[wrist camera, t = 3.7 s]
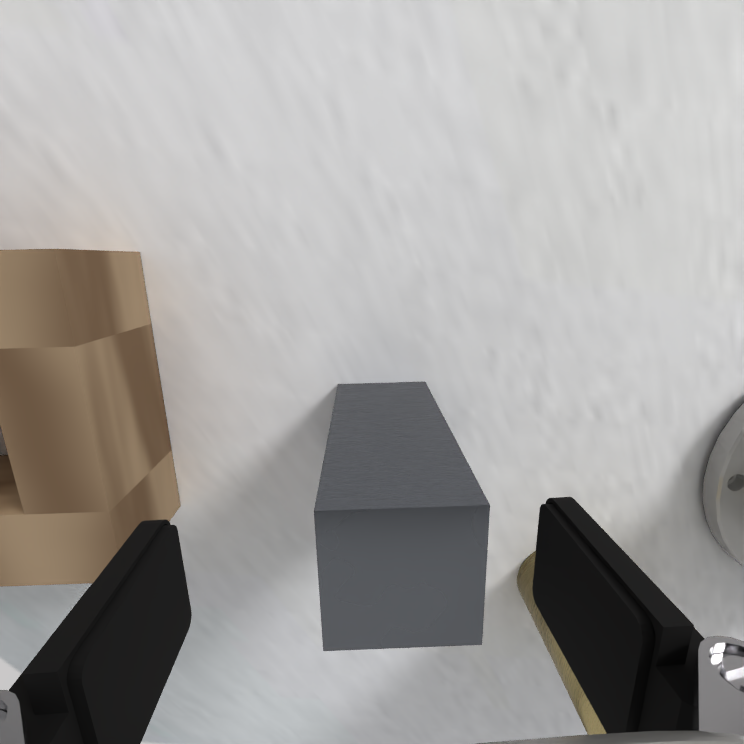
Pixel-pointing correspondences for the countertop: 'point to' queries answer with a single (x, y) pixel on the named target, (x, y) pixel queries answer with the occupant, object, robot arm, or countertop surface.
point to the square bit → (398, 525)
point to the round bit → (557, 651)
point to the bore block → (77, 414)
